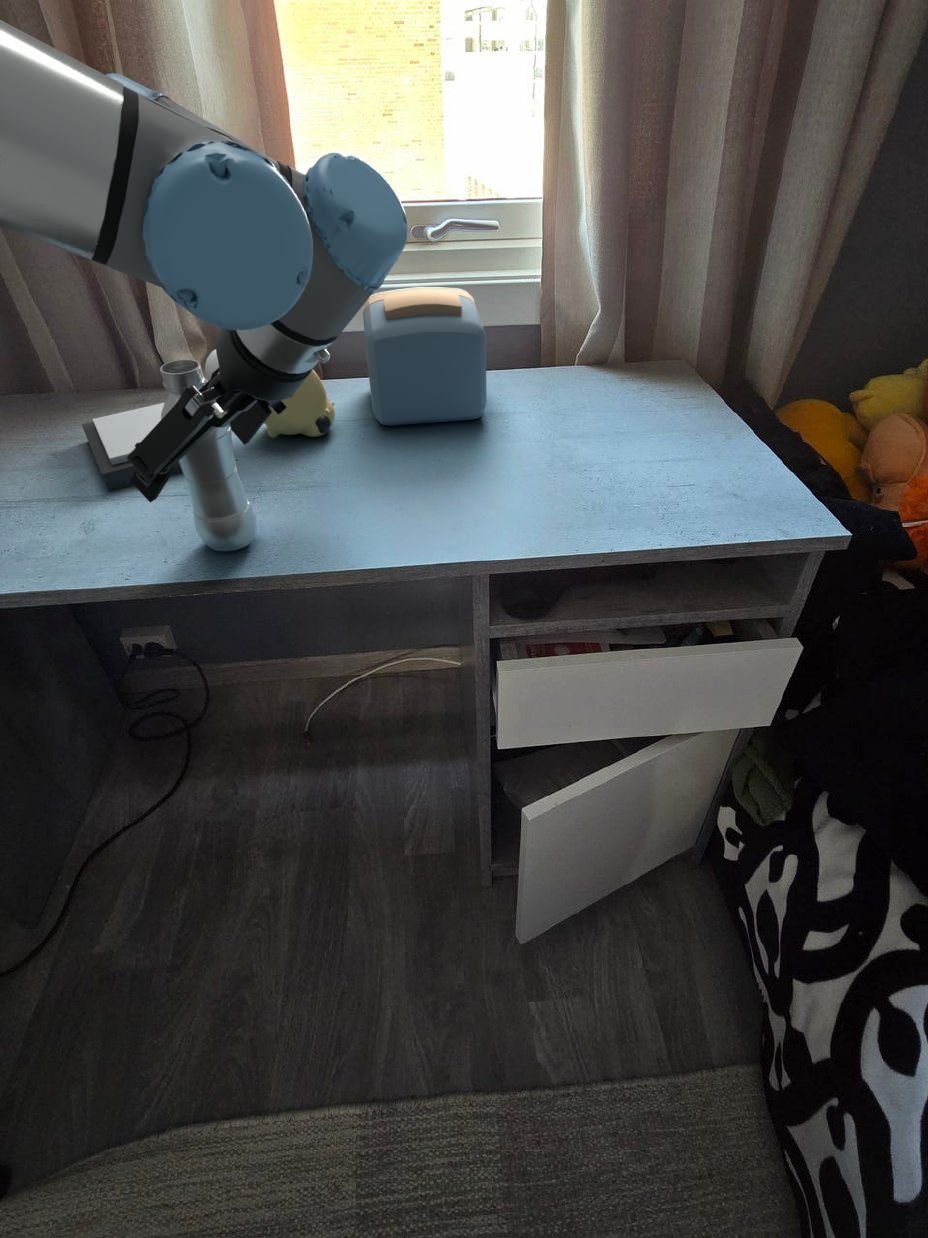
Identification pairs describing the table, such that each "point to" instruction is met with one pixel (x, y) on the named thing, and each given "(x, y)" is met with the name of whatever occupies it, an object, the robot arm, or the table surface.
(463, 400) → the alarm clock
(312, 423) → the yellow round figure
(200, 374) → the plastic bottle
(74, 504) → the table surface
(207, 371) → the white egg
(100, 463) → the scale
